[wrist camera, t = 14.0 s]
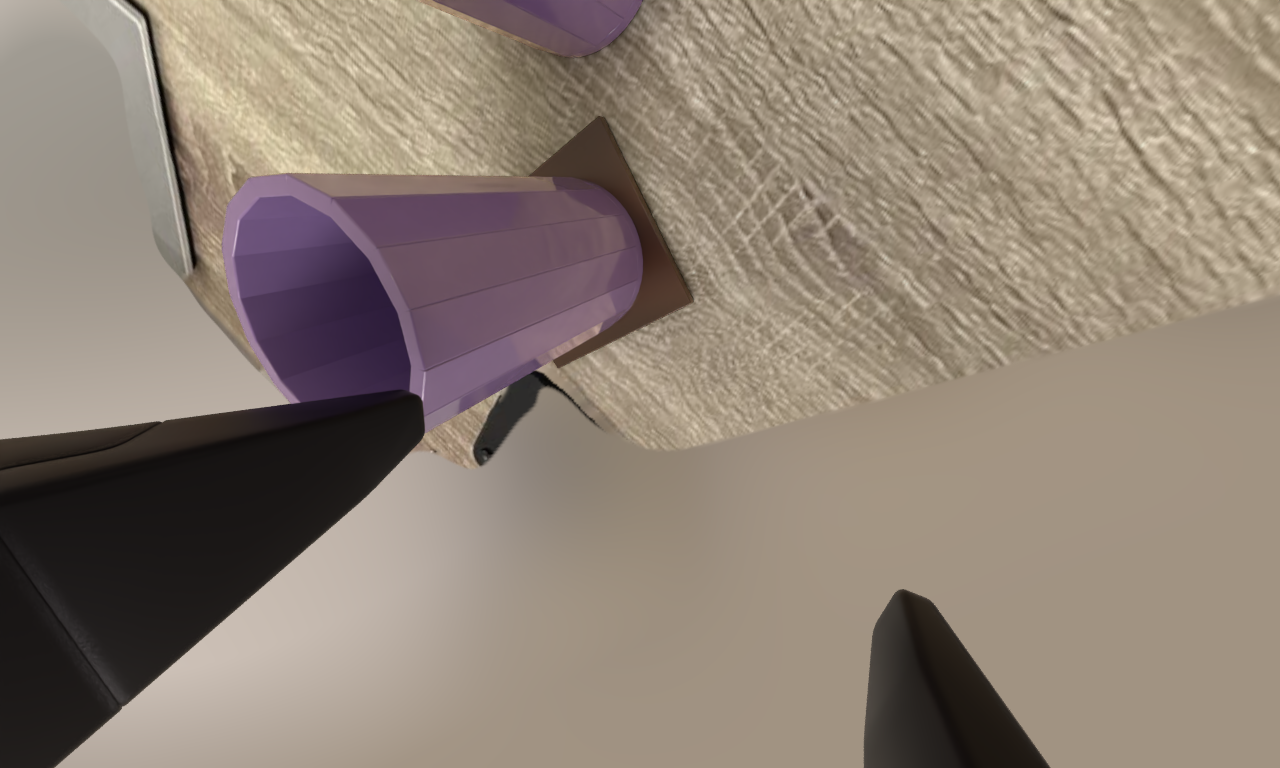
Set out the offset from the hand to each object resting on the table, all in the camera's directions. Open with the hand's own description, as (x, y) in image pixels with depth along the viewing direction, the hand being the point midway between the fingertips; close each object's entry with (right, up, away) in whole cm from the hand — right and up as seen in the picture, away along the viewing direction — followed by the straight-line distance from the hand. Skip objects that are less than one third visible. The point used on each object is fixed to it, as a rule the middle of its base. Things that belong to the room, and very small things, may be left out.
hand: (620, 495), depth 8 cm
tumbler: (-3, +8, +13) cm, 15 cm away
